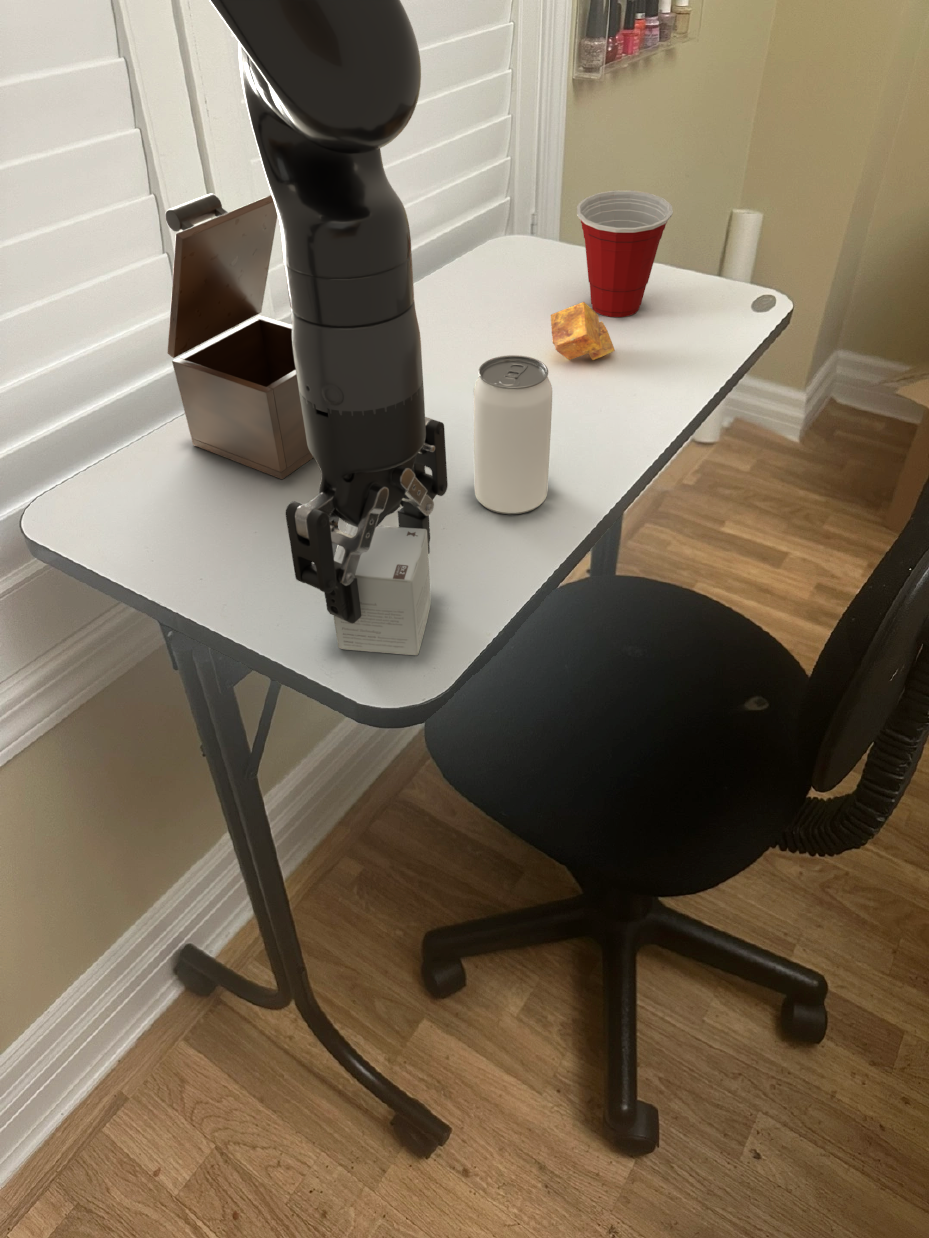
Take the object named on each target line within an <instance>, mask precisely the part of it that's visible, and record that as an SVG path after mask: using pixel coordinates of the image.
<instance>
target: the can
mask: <svg viewBox="0 0 929 1238" xmlns="http://www.w3.org/2000/svg"><path fill="white" fill-rule="evenodd" d="M552 413H553V385H552V383H551V380H550V378H549V368H548V366H547V365H546V364H545V363H543V362H542V361H541V360H539V359H536V358H534V357H531V356H526V355H517V354H515V355H514V354H509V355H501V356H500V355H499V356H496V357H493V358H490V359H488V360H486V361H484V362H483V363H482V364H481V365H480V366H479V368H478V377H477V379H476V381H475V383H474V387H473V467H474V468H473V471H474V473H473V475H474V477H473V478H474V479H473V480H474V495H475V498H476V500H477V502H479V504H481V505H482V506H483V507H484V508H486V509H487V510H489V511H490V512H493V513H497V514H502V515H520V514H521V515H522V514H526V513H529V512H531V511H533V510H535V509H537V508H538V507H539V506H540V505H541V504H543V503H544V501H545V500H546V499H547V496H548V487H549V473H550V453H551V436H552V435H551V433H552Z"/></svg>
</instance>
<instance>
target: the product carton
mask: <svg viewBox="0 0 929 1238" xmlns="http://www.w3.org/2000/svg"><path fill="white" fill-rule="evenodd" d="M357 530H358V527H355V526H352V525H350V524H347V523H346V526H345V528H344V531H343V532H344V533H347V534H349V535H352V536H355V535H356V533H357ZM344 553H345V549H344V548H343V547H342V546H339V545H338V546H337V549H336V553H335V556H334V561H336V562H339V563H341V564H342V560H343V557H344ZM429 556H430V553H429V554H428V539H427V530H426V529H416V528H403V527H399V526H389V525H380V524H379V525H378V526H377V527H376V528H375V532H374V535H373V538H372V542H371V545H370V548H369V550H368V551H367V552H364V553H362V554H361V556H360V559H359V563H358V566H357V569H356V573H355V576H354V577H355V578H357V584H358V592H359V599H360V607H361V617H360V618H359V619H358V620H357V621H356V622H355V623H349V622H347V621H345V620H342V619H340V618H338V617H336V616H334V615H333V621H334V628H335V635H336V642H337V647H338V648H339V649H341V650H347V651H357V652H369V653H383V654H396V655H404V656H405V655H406V656H418V655H419V653H420V650H421V645H422V642H423V638H424V635H425V630H426V626H427V623H428V619H429V615H430V609H431V606H432V605H431V603H432V595H431V594H432V593H431V576H430V575H431V574H430V559H429V558H430V557H429Z"/></svg>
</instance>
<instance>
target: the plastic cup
mask: <svg viewBox="0 0 929 1238" xmlns="http://www.w3.org/2000/svg"><path fill="white" fill-rule="evenodd" d="M673 214H674V211H673V204H671V203H670V202H669V201H668V200H667V199H665V198H664V197H662V196H659V195H657V194H653V193H651V192H646V191H639V190H635V189H633V190H632V189H627V190H626V189H625V190H623V189H622V190H621V189H619V190H618V189H617V190H615V189H614V190H609V191H602V192H596V193H594V194H592V195H590V196H587V197H585V198H583V199H582V200H581V201H580V202H579V203H578V204H577V205H576V215H577V218H578V219H579V221H580V224H581V229H582V231H583V233H582V234H583V239H584V244H585V246H584V247H585V256H586V257H585V258H586V268H587V276H588V278H587V279H588V283H589V292H590V293H589V295H590V304H591V309H592V310H593V311H594V312H595V313H596V314H599V315H601V316H605V317H610V318H623V317H630V316H632V315H634V314H637V312H638V311H639V310H640V306H642V303H643V299H644V295H645V292H646V287H647V285H648V283H649V280H650V276H651V274H652V269H653V266H654V262H655V259H656V256H657V252H658V249H659V245H660V241H661V239H662V237H663V234H664V231H665V229H666V225H667V224H668V221H669V220H670V219H671V218H672V216H673Z"/></svg>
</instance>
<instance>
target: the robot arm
mask: <svg viewBox="0 0 929 1238" xmlns="http://www.w3.org/2000/svg"><path fill="white" fill-rule="evenodd" d="M208 1H209V2H210V4H211V6H213V8H214V9H215V10H216V12H217V13H218V15H219V17H220V18H221V19H222V20H223V22H224V24H225V25H226V26H227V28H228V29H229V30H230V33H232V34H233V36H234V37H235V39H236V40H237V41H238V43H237V47H238V48H237V50H238V63H239V72H240V78H241V79H240V80H241V85H242V90H243V95H244V99H245V105H246V108H247V113H248V118H249V120H250V125H251V129H252V132H253V135H254V140H255V143H256V146H257V150H258V153H259V156H260V162H261V164H262V168H263V171H264V174H265V178H266V181H267V184H268V187H269V191H270V195H272V197H273V200H274V204H275V207H276V211H277V215H278V216H277V220H278V223H279V228H280V229H279V230H280V243H281V253H282V259H283V267H284V275H285V279H286V287H287V293H288V301H289V306H290V317H291V325H292V348H293V356H294V362H295V368H296V375H297V381H298V389H299V395H300V401H301V407H302V414H303V420H304V427H305V433H306V440H307V446H308V448H309V451H310V452H311V454H312V456H313V457H314V458H313V459H314V461H315V462H316V464H317V466H318V467H319V469H320V483H319V487H318V495H316V496H314V497H313V498H312V499H310V500H309V501H307V502H306V503H301V502H299V501H295V500H292V501H291V502H289V504H288V505H287V506H286V508H285V519H286V526H287V533H288V538H289V545H290V552H291V559H292V563H293V565H292V566H293V570H294V577H295V580H296V581H298V582H300V583H302V584H306V585H308V586H310V587H312V588H314V589H318V590H319V591H320V592H322V593H324V598H325V605H326V610H327V612H328V614H329V615H331V616H333V617H334V616H336V617H338V618H340V619H342V620H345V621H347V622H349V623H355V622H356V621H357V620H358V619H359V618H360V617H361V607H360V599H359V592H358V584H357V578H355V577H354V576H355V573H356V569H357V566H358V563H359V559H360V556H361V554H362V553H364V552H367V551H368V550H369V548H370V545H371V542H372V538H373V535H374V532H375V528H376V527H377V526H378V525H379V526H380V524H382V522H383V521H384V519H385V518H386V517H387V516H389V515H392V514H394V513H395V512H396V511H397V522H398V527H403V528H416V529H426V530H427V539H428V554H429V555H430V554H431V553H430V552H431V549H430V548H431V547H430V543H431V526H430V525H431V524H430V515H431V514H432V512H433V510H434V507H435V501H434V499H435V498H436V497H437V496H439V497H443V496H444V495H445V494H446V492H447V490H448V468H447V467H448V466H447V449H446V434H445V433H446V432H445V431H446V430H445V424H444V422H442V421H439V420H436V419H433V418H429V417H426V409H425V389H424V388H425V387H424V374H423V373H424V372H423V354H422V353H423V351H422V337H421V331H420V324H419V321H418V315H417V310H416V302H415V287H414V271H413V270H414V269H413V254H412V239H411V238H412V237H411V230H410V224H409V218H408V214H407V210H406V207H405V205H404V204H403V202H402V200H401V198H400V197H399V195H398V194H397V193H396V191H395V190H394V187H392V186H393V185H392V184H391V183H390V181H389V179H388V177H387V174H386V171H385V167H384V163H383V158H382V151H381V149H382V148H384V147H385V146H387V145H389V144H390V143H391V142H393V141H395V140H396V138H397V137H398V136H399V135H400V134H401V133H402V132H404V130H405V128H406V127H407V125H408V124H409V122H410V121H411V119H412V117H413V115H414V113H415V110H416V107H417V105H418V100H419V96H420V91H421V83H422V63H421V56H420V50H419V46H418V41H417V37H416V34H415V31H414V28H413V26H412V22H411V21H410V18H409V15H408V13H407V11H406V9H405V7H404V5H403V3H402V2H401V0H208ZM426 467H427V468H429V469H430V471H431V474H429V473H426ZM340 520H341V521H342V522H344V523H345V524H346V525H347V524H350V525H352V526H355V527H358V530H357V533H356V535H355V536H352V535H349V534H347V533H344V531H342V530H341V529H340V527H339V522H340ZM338 546H342V547H343V548H344V549H345V553H344V557H343V560H342V564H341V563H339V562H336V561H334V556H335V553H336V551H337V548H338Z"/></svg>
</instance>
